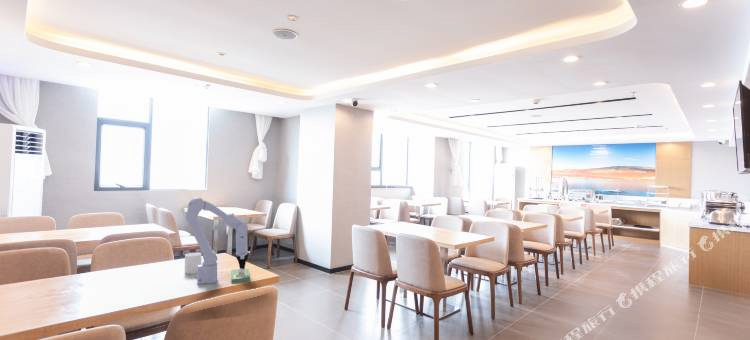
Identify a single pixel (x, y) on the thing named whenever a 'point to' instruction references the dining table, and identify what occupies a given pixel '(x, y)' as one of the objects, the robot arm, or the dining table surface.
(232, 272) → the green
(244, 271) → the ball
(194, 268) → the cup
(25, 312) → the dining table surface
